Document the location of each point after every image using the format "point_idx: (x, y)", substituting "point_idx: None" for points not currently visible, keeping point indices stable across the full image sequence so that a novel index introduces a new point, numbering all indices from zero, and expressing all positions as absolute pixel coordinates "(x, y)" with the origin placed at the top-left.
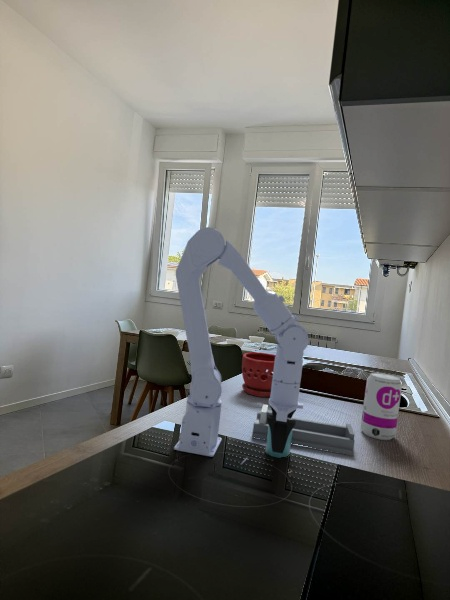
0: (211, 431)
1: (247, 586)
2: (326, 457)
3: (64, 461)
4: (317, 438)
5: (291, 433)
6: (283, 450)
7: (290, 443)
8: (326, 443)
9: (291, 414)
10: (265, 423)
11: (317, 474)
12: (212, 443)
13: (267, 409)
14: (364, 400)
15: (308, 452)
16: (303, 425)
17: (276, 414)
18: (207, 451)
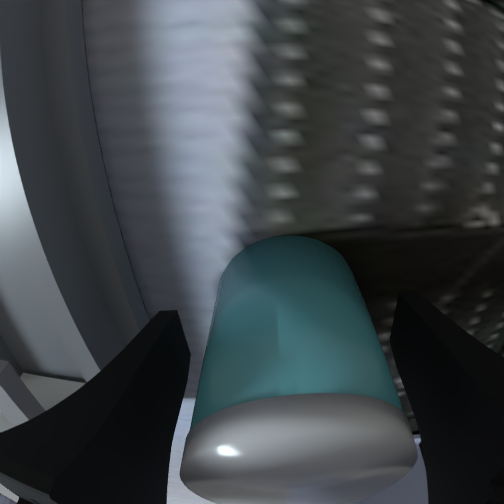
0: (423, 499)
1: None
2: (184, 5)
3: None
4: (27, 103)
5: (338, 341)
6: (425, 299)
7: (316, 281)
8: (36, 40)
9: (95, 450)
10: (57, 388)
11: (477, 75)
12: None
13: (10, 424)
14: None
15: (167, 125)
16: None
17: (157, 487)
18: (420, 451)
